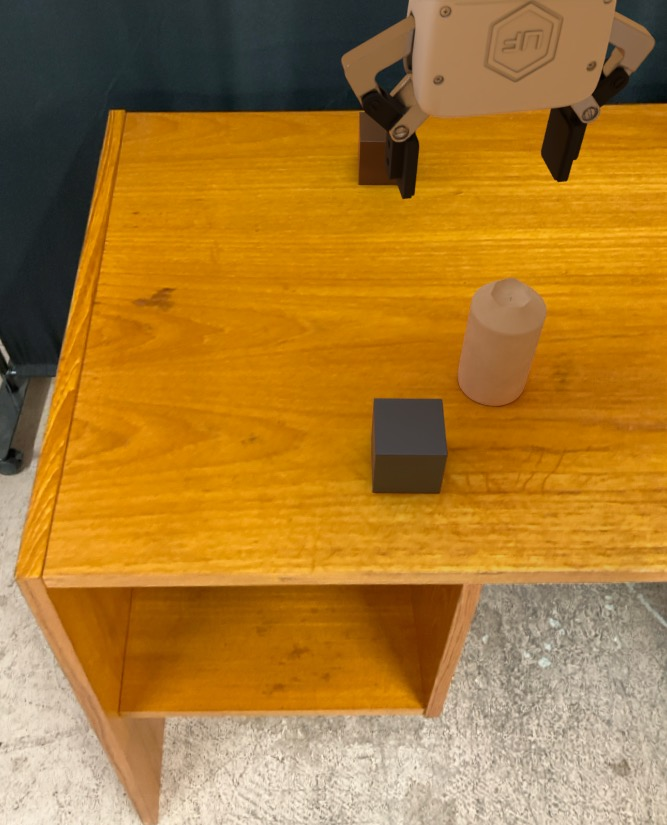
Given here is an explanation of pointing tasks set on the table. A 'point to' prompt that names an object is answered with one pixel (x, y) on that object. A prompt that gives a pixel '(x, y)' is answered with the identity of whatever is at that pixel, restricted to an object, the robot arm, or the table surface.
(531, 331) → the candle
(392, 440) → the near block
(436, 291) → the table surface
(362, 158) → the far block
